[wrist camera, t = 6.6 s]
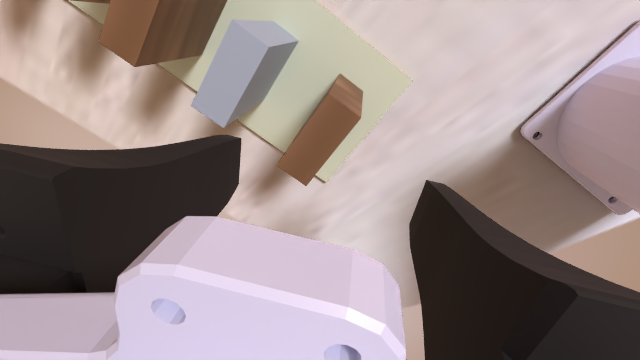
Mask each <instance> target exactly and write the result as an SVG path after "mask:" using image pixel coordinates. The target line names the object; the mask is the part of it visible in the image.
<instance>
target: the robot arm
mask: <svg viewBox="0 0 640 360" xmlns="http://www.w3.org/2000/svg"><path fill="white" fill-rule="evenodd" d="M520 131H521V134H522V136H523V137H525V138H526V139H527V140H528V141H529V142H531V143H532V144H533V145H534V146H535V147H537V148H538V149H539V150H540V151H541V152H542V153H544V154H545V155H546V156H547V157H548V158H550V159H551V160H552V161H553V162H554V163H556V164H557V165H558V166H559V167H560V168H561V169H563V170H564V171H565V172H566V173H567V174H569V175H570V176H571V177H572V178H573V179H575V180H576V181H577V182H578V183H579V184H581V185H582V186H583V187H584V188H585V189H586V190H588V191H589V192H590V193H591V194H592V195H594V196H595V197H596V198H597V199H598V200H600V201H601V202H602V203H603V204H604V205H605V206H607V207H608V208H609V209H610V210H611V211H613V212H614V213H616V214H618V215H622V214H625V213H627V212H629V211H631V210H632V209H633V210H635V211H636V212H638V213H639V214H640V21H639V22H638V23H637V24H635V25H634V26H633V27H632V28H631V29H630V30H629V31H628V32H627V33H625V34H624V35H623V36H622V37H621V38H620V39H619V40H618V41H616V42H615V43H614V44H613V45H612V46H611V47H610V48H609V49H608V50H606V51H605V52H604V53H603V54H602V55H601V56H600V57H599V58H598V59H596V60H595V61H594V62H593V63H592V64H591V65H590V66H589V67H587V68H586V69H585V70H584V71H583V72H582V73H581V74H580V75H579V76H577V77H576V78H575V79H574V80H573V81H572V82H571V83H570V84H568V85H567V86H566V87H565V88H564V89H563V90H562V91H561V92H560V93H558V94H557V95H556V96H555V97H554V98H553V99H552V100H551V101H549V102H548V103H547V104H546V105H545V106H544V107H543V108H542V109H541V110H539V111H538V112H537V113H536V114H535V115H534V116H533V117H532V118H530V119H529V120H528V121H527V122H526V123H525V124H524V125H523V126H522V127H521V130H520ZM536 132H539V135H538V137H536V138H533V135H534V134H535V133H536ZM240 153H241V138H238V137H233V136H229V135H217V136H211V137H205V138H200V139H195V140H190V141H185V142H180V143H174V144H168V145H162V146H155V147H147V148H136V149H122V150H68V149H50V148H38V147H28V146H19V145H9V144H0V360H406V345H405V336H404V326H403V317H402V307H401V298H400V289H399V285H398V284H397V282H396V281H395V280H394V278H393V277H392V275H391V274H390V273H389V271H388V270H387V269H386V267H385V266H384V264H383V263H381V262H379V261H377V260H374V259H372V258H370V257H368V256H366V255H364V254H362V253H360V252H358V251H356V250H354V249H350V248H346V247H342V246H337V245H333V244H329V243H325V242H321V241H317V240H312V239H308V238H304V237H300V236H296V235H292V234H287V233H283V232H279V231H275V230H271V229H267V228H262V227H258V226H254V225H250V224H246V223H242V222H237V221H233V220H228V219H225V218H220V217H217V216H218V215H219V213H220V212H221V211H222V210H223V208H224V207H225V206H226V205H227V203H228V202H229V200H230V199H231V197H232V195H233V193H234V192H235V190H236V188H237V186H238V184H239V169H240ZM611 197H613V198H612V199H611V200H609V198H611ZM409 230H410V248H411V253H412V259H413V264H414V269H415V274H416V279H417V284H418V289H419V293H420V300H421V306H422V317H423V331H424V346H425V347H424V348H425V360H640V293H639V292H637V291H634V290H632V289H629V288H626V287H623V286H621V285H618V284H615V283H613V282H610V281H607V280H605V279H603V278H600V277H598V276H596V275H593V274H591V273H589V272H586V271H584V270H581V269H579V268H577V267H575V266H573V265H571V264H568V263H566V262H564V261H562V260H560V259H558V258H556V257H554V256H552V255H550V254H548V253H546V252H544V251H542V250H540V249H538V248H537V247H535V246H533V245H531V244H529V243H528V242H526V241H524V240H523V239H521V238H519V237H518V236H516V235H514V234H512V233H511V232H509V231H508V230H506V229H505V228H503V227H502V226H500V225H499V224H497V223H496V222H494V221H493V220H492V219H490V218H489V217H487V216H486V215H485V214H483V213H482V212H481V211H479V210H478V209H477V208H475V207H474V206H473V205H472V204H470V203H469V202H468V201H466V200H465V199H464V198H463V197H461V196H460V195H459V194H458V193H456V192H455V191H454V190H452V189H451V188H449V187H448V186H446V185H444V184H441V183H437V182H433V181H428V180H426V183H425V185H424V188H423V190H422V193H421V196H420V198H419V201H418V203H417V206H416V208H415V211H414V214H413V216H412V219H411V221H410V224H409Z"/></svg>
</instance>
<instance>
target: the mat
mask: <svg viewBox="0 0 640 360" xmlns="http://www.w3.org/2000/svg"><path fill="white" fill-rule="evenodd" d="M68 1H69V2H71V3H72V4H74V5H75V6H76V7H78V8H79V9H81V10H82V11H84V12H85V13H86V14H88V15H89V16H91V17H92V18H94V19H95V20H96V21H98V22H99V23H101V24H102V25H103V24H104V21H105V18H106V14H107V11H108V7H109V4H105V3H94V2H82V1H71V0H68ZM232 19H234V20H254V21H274V22H275V23H277V24H278V25H279V26H281V27H282V28H283V29H285V30H286V31H287V32H289V33H290V34H291V35H292V36H294V37H295V38H296V39H298V40H299V42H298V44H297V45H296V47H295V49H294V50H293V52H292V54H291V55H290V57H289V59H288V60H287V62H286V64H285V65H284V67H283V69H282V70H281V72H280V74H279V75H278V77H277V79H276V80H275V82H274V84H273V85H272V87H271V89H270V90H269V92H268V94H267V95H266V97H265V99H264V100H263V101H262V102H260V103H259V104H257V105H256V106H255V107H253V108H252V109H250V110H249V111H248V112H246V113H245V114H243V115H242V116H241V117H239V118H238V119H237V120H238V121H240V122H241V123H242V124H244V125H245V126H247V127H248V128H249V129H251V130H252V131H254V132H255V133H257V134H258V135H259V136H261V137H262V138H264V139H265V140H266V141H268V142H269V143H271V144H272V145H274V146H275V147H276V148H278V149H279V150H281V151H282V152H283V153H285V152H286V151H287V149H288V147H289V146H290V144H291V143H292V141H293V140H294V138H295V137H296V135H297V134H298V132H299V131H300V129H301V128H302V126H303V125H304V123H305V122H306V121H307V119H308V118H309V116H310V115H311V114H312V112H313V111H314V109H315V108H316V107H317V105H318V104H319V102H320V101H321V100H322V98H323V97H324V95H325V94H326V93H327V91H328V90H329V88H330V87H331V86H332V84H333V83H334V81H335V80H336V79H337V77H338V76H339V74H340V73H341V74H342V75H343V76H344V77H346V78H347V79H348V80H350V81H351V82H352V83H353V84H355V85H356V86H357V87H358V88H360V89H361V90H362V91H363V100H362V114H361V119H360V120H359V121H358V123H357V124H356V125H355V126H354V128H353V129H352V130H351V131H350V133H349V134H348V135H347V136H346V138H345V139H344V140H343V141H342V142H341V144H340V145H339V146H338V147H337V149H336V150H335V151H334V152H333V154H332V155H331V156H330V157H329V159H328V160H327V161H326V162H325V163H324V165H323V166H322V167H321V168H320V170H319V171H318V172H317V173H316V176H317V177H319V178H320V179H322V180H323V181H325V182H326V183H327V182H328V180H329V179H330V178H331V177H332V176H333V175H334V173H335V172H336V171H337V170H338V169H339V167H340V166H341V165H342V164H343V163H344V162H345V160H346V159H347V158H348V157H349V156H350V154H351V153H352V152H353V151H354V150H355V149H356V147H357V146H358V145H359V144H360V143H361V141H362V140H363V139H364V138H365V137H366V136H367V134H368V133H369V132H370V131H371V130H372V128H373V127H374V126H375V125H376V124H377V123H378V121H379V120H380V119H381V118H382V117H383V115H384V114H385V113H386V112H387V111H388V110H389V108H390V107H391V106H392V105H393V104H394V102H395V101H396V100H397V99H398V98H399V97H400V95H401V94H402V93H403V92H404V91H405V89H406V88H407V87H408V86H409V85H410V84H411V82H412V81H413V80H412V79H411V78H410V77H409V76H408V75H406V74H405V73H404V72H403V71H401V70H400V69H399V68H398V67H397V66H395V65H394V64H393V63H392V62H390V61H389V60H388V59H387V58H386V57H384V56H383V55H382V54H381V53H379V52H378V51H377V50H376V49H374V48H373V47H372V46H371V45H370V44H368V43H367V42H366V41H365V40H363V39H362V38H361V37H360V36H359V35H357V34H356V33H355V32H354V31H352V30H351V29H350V28H349V27H348V26H346V25H345V24H344V23H343V22H341V21H340V20H339V19H338V18H337V17H335V16H334V15H333V14H332V13H330V12H329V11H328V10H327V9H326V8H324V7H323V6H322V5H321V4H319V3H318V2H317V1H316V0H227V3H226V5H225V7H224V9H223V11H222V13H221V15H220V17H219V20H218V22H217V24H216V26H215V28H214V30H213V32H212V35H211V37H210V39H209V41H208V43H207V45H206V47H205V50H204V52H203V54H202V55H201V56H195V57H190V58H184V59H178V60H172V61H167V62H161V63H157V64H159V65H160V66H162V67H163V68H164V69H166V70H167V71H169V72H170V73H171V74H173V75H174V76H176V77H177V78H179V79H180V80H181V81H183V82H184V83H186V84H187V85H188V86H190V87H191V88H193V89H194V90H196V91H197V92H198V90H199V88H200V86H201V84H202V81H203V79H204V77H205V75H206V73H207V71H208V69H209V67H210V65H211V63H212V60H213V58H214V56H215V54H216V52H217V50H218V48H219V46H220V44H221V42H222V39H223V37H224V35H225V33H226V31H227V29H228V27H229V25H230V23H231V21H232Z"/></svg>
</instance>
